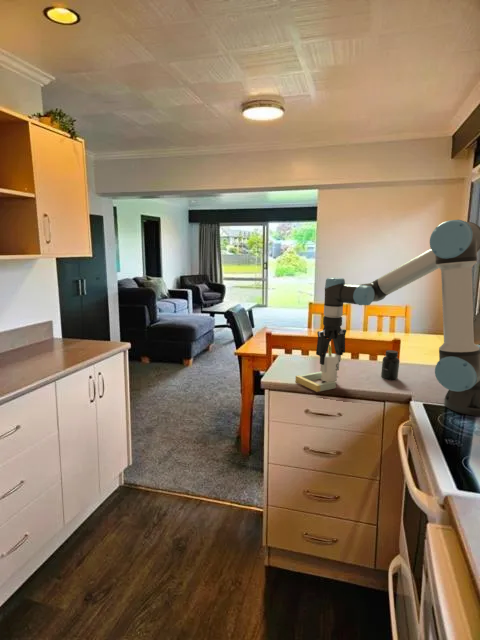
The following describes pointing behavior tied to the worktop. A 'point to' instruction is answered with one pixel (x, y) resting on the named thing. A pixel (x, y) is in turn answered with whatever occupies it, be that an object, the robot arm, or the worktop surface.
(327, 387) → the rail
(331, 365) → the candle
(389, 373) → the supplement bottle
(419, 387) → the worktop surface
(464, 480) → the worktop surface
